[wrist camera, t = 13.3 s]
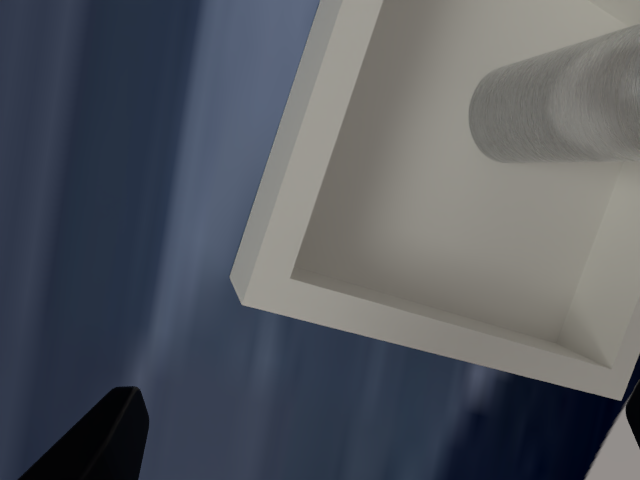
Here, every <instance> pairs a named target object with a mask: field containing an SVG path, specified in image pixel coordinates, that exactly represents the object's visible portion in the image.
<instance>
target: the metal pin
mask: <svg viewBox="0 0 640 480" xmlns="http://www.w3.org/2000/svg"><path fill="white" fill-rule="evenodd" d="M469 127H470V132H471V135H472V138H473V140H474V142H475V144H476V145H477V147H478V148H479V150H480V151H481V152H482V153H483V154H484V155H486V156H487V157H488V158H490V159H492V160H494V161H497V162H500V163H550V162H624V161H640V24H637V25H633V26H630V27H627V28H624V29H621V30H617V31H614V32H611V33H608V34H605V35H601V36H598V37H595V38H592V39H589V40H586V41H582V42H579V43H576V44H573V45H570V46H566V47H563V48H560V49H557V50H554V51H550V52H547V53H544V54H541V55H538V56H534V57H531V58H528V59H525V60H522V61H518V62H515V63H512V64H509V65H506V66H503V67H499V68H497V69H495V70H493V71H491V72H490V73H488V74H487V75H486V76H485V77H484V78H483V79H482V80H481V81H480V82H479V84H478V85H477V87H476V89H475V91H474V93H473V95H472V98H471V101H470V106H469Z"/></svg>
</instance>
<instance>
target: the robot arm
mask: <svg viewBox="0 0 640 480" xmlns="http://www.w3.org/2000/svg"><path fill="white" fill-rule="evenodd" d="M626 416H627V419H628V422H629V424H630V427H631V429H632V432H633V434H634V436H635V439H636V441H637V444H638V446H639V448H640V379H639V381H638V383H637V385H636V386H635V388H634V390H633V392H632V394H631V396H630V398H629V400H628V402H627V404H626ZM148 429H149V415H148V412H147V409H146V406H145V403H144V399H143V396H142V393H141V391H140V389H139V388H138V387H135V386H129V387H116V388H114V389H112V390H111V391H110V392H108V393H107V394H106V395H105V396H104V397H103V398H102V399H101V400H100V401H99V402H98V403H97V404H96V405H95V406H94V407H93V408H92V409H91V410H90V411H89V412H88V413H87V414H86V415H84V416H83V417H82V418H81V419H80V420H79V421H78V422H77V423H76V424H75V425H74V426H73V427H72V428H71V429H70V430H69V431H68V432H67V433H66V434H65V435H64V436H63V437H62V438H61V439H59V440H58V441H57V442H56V443H55V444H54V445H53V446H52V447H51V448H50V449H49V450H48V451H47V452H46V453H45V454H44V455H43V456H42V457H41V458H40V459H39V460H38V461H37V462H35V463H34V464H33V465H32V466H31V467H30V468H29V469H28V470H27V471H26V472H25V473H24V474H23V475H22V476H21V477H20V478H19V479H18V480H138V478H139V473H140V468H141V463H142V459H143V454H144V449H145V444H146V439H147V434H148Z"/></svg>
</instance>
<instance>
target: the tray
mask: <svg viewBox="0 0 640 480" xmlns="http://www.w3.org/2000/svg"><path fill="white" fill-rule="evenodd" d="M637 24H640V0H320V3H319V6H318V9H317V12H316V15H315V18H314V21H313V24H312V28H311V31H310V34H309V37H308V40H307V43H306V46H305V49H304V52H303V55H302V58H301V61H300V64H299V67H298V70H297V73H296V76H295V79H294V82H293V85H292V88H291V91H290V94H289V97H288V101H287V104H286V107H285V110H284V113H283V116H282V119H281V122H280V125H279V128H278V131H277V134H276V137H275V140H274V143H273V146H272V149H271V152H270V155H269V158H268V161H267V164H266V167H265V171H264V174H263V177H262V180H261V183H260V186H259V189H258V192H257V195H256V198H255V201H254V204H253V207H252V210H251V213H250V216H249V219H248V222H247V225H246V228H245V231H244V234H243V237H242V241H241V244H240V247H239V250H238V253H237V256H236V259H235V262H234V265H233V268H232V271H231V274H230V279H231V282H232V284H233V286H234V288H235V291H236V293H237V295H238V297H239V300H240V302H241V304H242V305H244V306H248V307H252V308H256V309H260V310H264V311H268V312H272V313H276V314H280V315H284V316H288V317H292V318H296V319H300V320H304V321H308V322H312V323H316V324H320V325H324V326H327V327H331V328H335V329H339V330H343V331H347V332H351V333H355V334H359V335H363V336H367V337H371V338H375V339H379V340H383V341H387V342H391V343H395V344H399V345H403V346H407V347H410V348H414V349H418V350H422V351H426V352H430V353H434V354H438V355H442V356H446V357H450V358H454V359H458V360H462V361H466V362H470V363H474V364H478V365H482V366H486V367H490V368H493V369H497V370H501V371H505V372H509V373H513V374H517V375H521V376H525V377H529V378H533V379H537V380H541V381H545V382H549V383H553V384H557V385H561V386H565V387H569V388H573V389H576V390H580V391H584V392H588V393H592V394H596V395H600V396H604V397H608V398H612V399H616V400H620V401H621V400H622V398H623V395H624V393H625V390H626V387H627V385H628V382H629V379H630V377H631V374H632V372H633V369H634V366H635V364H636V361H637V359H638V356H639V353H640V161H624V162H550V163H500V162H497V161H494V160H492V159H490V158H488V157H487V156H486V155H484V154H483V153H482V152H481V151H480V150H479V148H478V147H477V145H476V144H475V142H474V140H473V138H472V135H471V132H470V127H469V106H470V101H471V98H472V95H473V93H474V91H475V89H476V87H477V85H478V84H479V82H480V81H481V80H482V79H483V78H484V77H485V76H486V75H487V74H488V73H490V72H491V71H493V70H495V69H497V68H499V67H503V66H506V65H509V64H512V63H515V62H518V61H522V60H525V59H528V58H531V57H534V56H538V55H541V54H544V53H547V52H550V51H554V50H557V49H560V48H563V47H566V46H570V45H573V44H576V43H579V42H582V41H586V40H589V39H592V38H595V37H598V36H601V35H605V34H608V33H611V32H614V31H617V30H621V29H624V28H627V27H630V26H633V25H637Z"/></svg>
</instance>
